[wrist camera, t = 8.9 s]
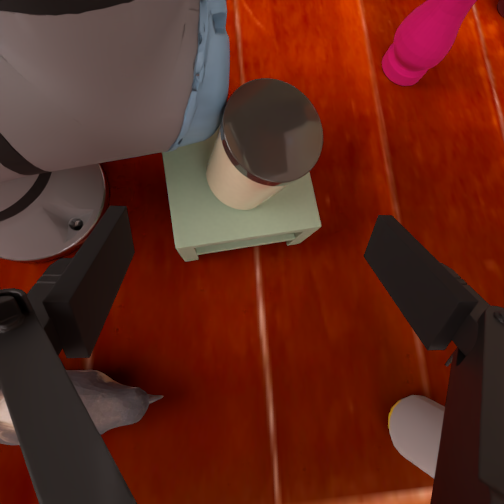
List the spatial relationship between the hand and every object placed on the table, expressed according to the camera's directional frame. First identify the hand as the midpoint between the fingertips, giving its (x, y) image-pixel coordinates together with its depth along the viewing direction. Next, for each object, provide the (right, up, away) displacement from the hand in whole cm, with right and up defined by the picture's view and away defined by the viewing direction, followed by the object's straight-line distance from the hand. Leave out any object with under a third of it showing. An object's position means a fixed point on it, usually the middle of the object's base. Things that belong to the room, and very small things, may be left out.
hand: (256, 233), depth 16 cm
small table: (-2, +5, +20) cm, 21 cm away
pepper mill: (+22, +26, +27) cm, 43 cm away
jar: (-1, +6, +12) cm, 14 cm away
